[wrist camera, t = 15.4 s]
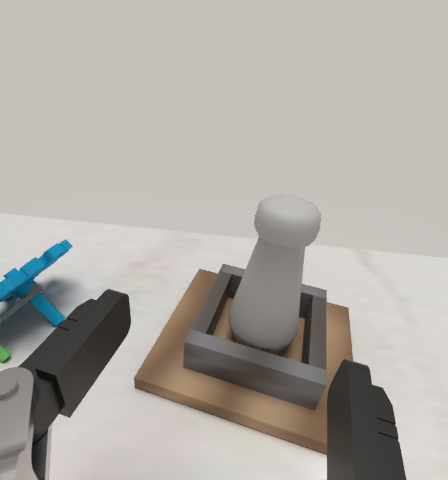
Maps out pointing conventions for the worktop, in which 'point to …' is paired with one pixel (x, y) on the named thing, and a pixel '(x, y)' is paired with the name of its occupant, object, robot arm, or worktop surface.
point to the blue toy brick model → (31, 287)
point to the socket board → (249, 362)
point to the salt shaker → (274, 274)
